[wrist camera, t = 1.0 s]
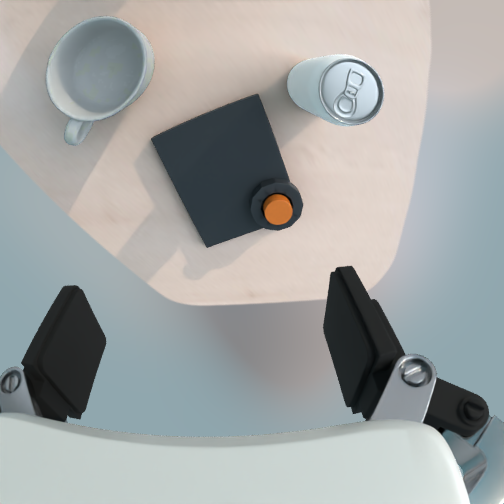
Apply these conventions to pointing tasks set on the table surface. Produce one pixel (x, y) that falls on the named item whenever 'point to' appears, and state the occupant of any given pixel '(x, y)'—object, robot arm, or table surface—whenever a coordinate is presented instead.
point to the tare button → (277, 209)
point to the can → (337, 89)
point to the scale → (227, 170)
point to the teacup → (97, 72)
